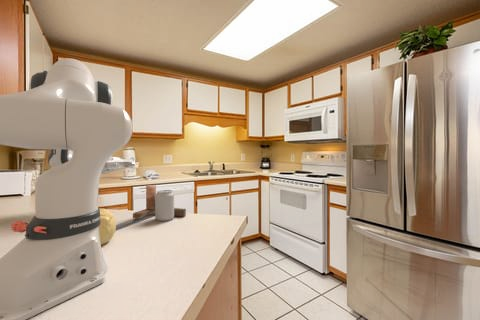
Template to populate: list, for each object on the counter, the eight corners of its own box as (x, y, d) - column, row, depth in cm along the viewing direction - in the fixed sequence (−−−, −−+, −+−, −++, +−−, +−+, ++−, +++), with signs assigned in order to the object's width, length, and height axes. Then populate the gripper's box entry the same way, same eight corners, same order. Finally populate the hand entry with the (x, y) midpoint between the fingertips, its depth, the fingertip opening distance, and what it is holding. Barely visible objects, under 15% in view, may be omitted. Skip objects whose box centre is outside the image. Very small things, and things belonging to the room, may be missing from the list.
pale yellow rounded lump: (63, 253, 63) (62, 214, 63) (80, 238, 74) (80, 204, 74) (109, 249, 66) (109, 211, 66) (119, 235, 77) (119, 203, 77)
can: (170, 221, 93) (170, 192, 92) (152, 221, 93) (152, 191, 92) (176, 216, 100) (176, 189, 100) (159, 216, 100) (159, 189, 100)
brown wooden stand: (166, 224, 88) (166, 190, 88) (131, 220, 93) (131, 188, 93) (185, 215, 101) (185, 186, 100) (154, 212, 106) (154, 184, 106)
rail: (108, 233, 79) (108, 230, 79) (103, 232, 79) (103, 229, 79) (160, 213, 105) (160, 211, 105) (156, 213, 106) (156, 210, 106)
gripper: (81, 157, 98) (106, 158, 93) (120, 157, 117) (142, 157, 113) (81, 172, 98) (106, 173, 94) (120, 169, 117) (142, 170, 113)
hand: (126, 165), depth 103 cm, fingers open, 8 cm apart
